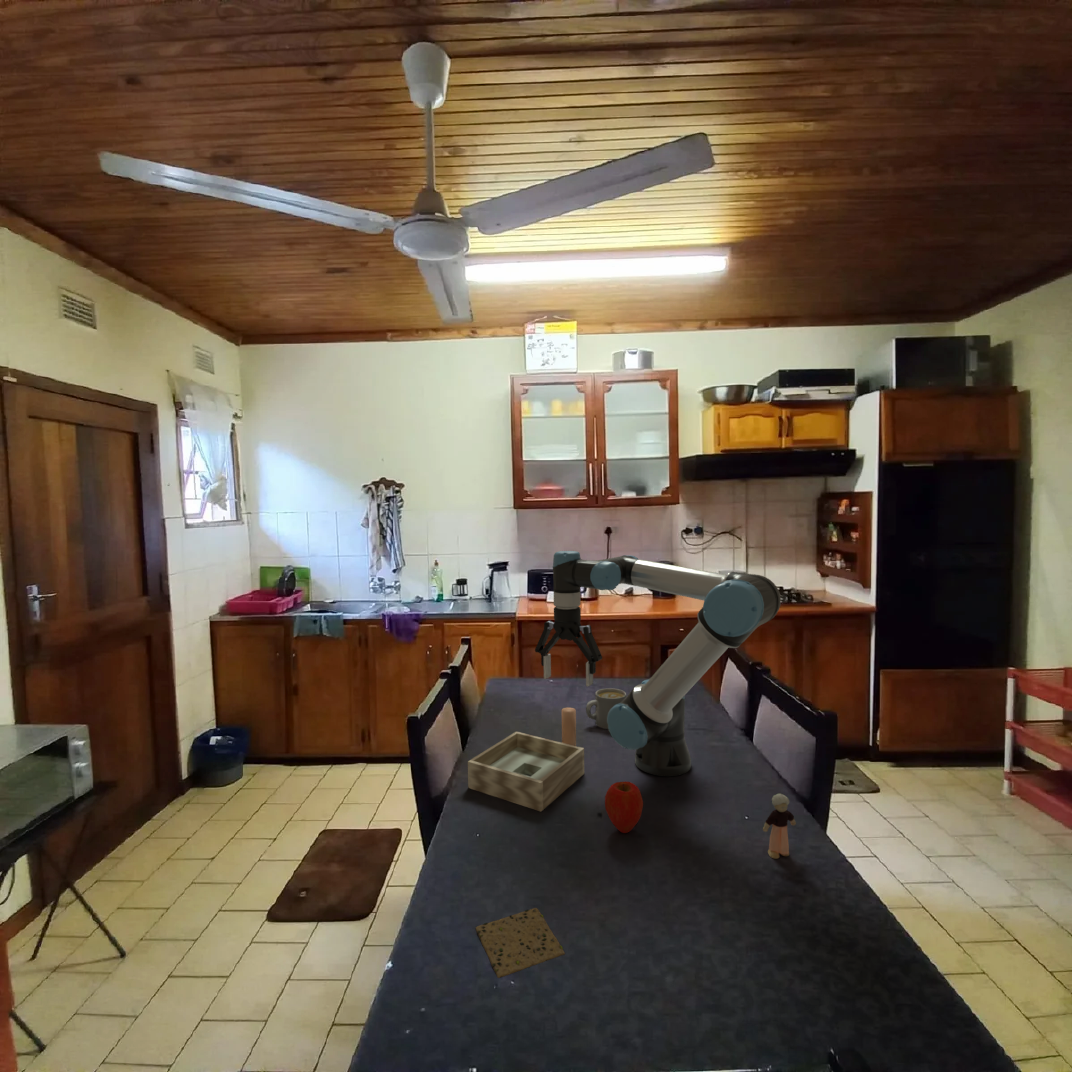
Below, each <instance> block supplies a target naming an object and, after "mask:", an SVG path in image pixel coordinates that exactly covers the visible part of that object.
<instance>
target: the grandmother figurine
mask: <svg viewBox="0 0 1072 1072" xmlns="http://www.w3.org/2000/svg"><path fill="white" fill-rule="evenodd" d="M771 801H772V802H771V804H772V805H773V807H774V810H772V812H771V813H770V814H769V815H768V817H767V819H766V820H765V822H764V826H763V827H762V831H763V832H764V833H767V832H768V831H769V828H770V827H771V826H772V827H771V832H770V835H769V845H768V850H767V853H768V855H769V857H770V858H771V859H774V860H775V859H779V858H780V855H781V856H783V857H788V856H790V849H789V848H790V847H789V835H788V833H789V832H788V821H789V822H790V825H791V826H796V825H797V822H796V820H795V816H794V815H793V813H792V812H791V811H789V810H787V809H788V805H789V804H790V799H789V797H787V796H786V795H784V794H782V793H777V794H774V795H773V796H772V798H771Z"/></svg>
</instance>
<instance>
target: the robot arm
mask: <svg viewBox="0 0 1072 1072" xmlns="http://www.w3.org/2000/svg"><path fill="white" fill-rule="evenodd" d="M552 562H553V563H552V576H553V606H554V607H553V619H554V621H552V620H548V621H545V622H544V623H543V630H542V632H541V635H540V637H539V640H538V642H537V644H536V647H535V649H534V651H535V653H538V654H539V655H540V659H541V660H540V661H541V662H540V664H541V666H542V667H543V679H544V680H545V679H548V678H551V676H552V669H551V668H552V664H551V663H552V661H551V660H552V658H551V657H552V655H551V653H549V652H550V651H551V650H552V648H553V647H554V646H555V645H556V644H557V643H558V641H559V639H561V640H567V641H573V643H575V644H576V646H577V647H578V648H579V650H580V651H581V653H582V654H583V656H584V657H585V658H586V660H587V662H585V686H586V687H590V686H592V685H593V684H594V674H596V673H597V671H596V670H597V669H596V667H597V665H596V663H597V662H599V661H601V660H602V659H603V655H602V652H601V650H600V649H599V645H597V642H596V639H595V637H594V635H593V631H592V626H591V624H587V625H581V619H582V616H581V615H582V614H581V611H582V609H581V608H582V607H580V605H581V588H587V589H591V590H592V589H594V590H600V591H613V590H615V589H617V587H618V586H619V585H622V584H624V585H628V586H629V585H630V586H633V587H637V588H643V589H644V588H645V589H647V590H651V591H652V590H653V591H657V592H662V593H666V594H672V595H677V596H681V597H686V598H691V599H695V600H700V601H703V603H702V604H703V605H702V607H701V609H700V610H699V611H698V612H697V620H698V621H697V624H695V626H694V627H693V628H692V629H691V631H690V632H689V633H688V634H687V635H686V637H684V638H683V640H682V641H681V643H679V644H678V646H677V647H676V648H675V649H674V650H673V652H671V654H670V655H669V656H668V658H666V660H665V661H664V662H663V663H662V664H661V666H660V667H659V668H658V669H657V670H656V671H655V673H654V674H653V675H651V677H650V678H649V679H645V680H643V681H642V682H641V683H638V684H636V685H635V686H634V687H633V689H632V690H631V691H630V692H629V693H628V694H627V695H626V698H625V699H624V700H623V701H622V702H621V703H619V704H616V705H614V706H613V707H612V708H611V709H610V711H609V713H608V716H607V723H608V729H607V730H608V732H609V733H610V735H611V738H612V739H613V740H614V741H615V743H617V744H618V745H619V746H620V747H622V748H624V749H625V750H626V749H627V750H629V751H635V754H634V763H635V766H636V767H637V768H638V769H640V771H643V772H645V773H647V774H649V775H650V774H651V775H654V776H659V777H677V776H681V775H684V774H686V773H688V772H689V771H690V770H691V768H692V757H691V754H690V751H689V747H688V745H687V742H686V738H685V711H686V710H685V709H686V708H685V707H686V706H685V703H686V702H685V701H686V694H688V692H689V691H691V689H692V688H693V686H695V684H697V682H699V680H700V679H701V678H702V677H703V676H704V675H705V674H706V673H707V672H708V670H709V669H711V667H712V666H713V665H714V664H715V663H716V662H717V661H718V659H720V657H721V656H722V655H723V654H724V653H725V652H726V651H727V650H728V648H729V649H737V648H739V647H740V646H741V645H742V644H743V643H745V641H746V640H747V639H748V638H749V637H750V636H751V635H752V633H753V632H755V630H757V628H758V627H760V626H761V625H764V624H766V623H767V622H770V621H771V620H772V619H774V618H775V616H776V615H777V614H778V612H779V610H780V608H781V602H782V599H781V597H782V596H781V594H780V593H781V592H780V591H779V588H778V586H777V585H776V584H775V583H774V582H773V581H772V580H771V579H769V578H768V577H766V576H764V575H760V574H754V573H744V572H737V571H729V572H728V573H727V574H724V573H719V572H714V571H713V572H712V571H708V570H701V569H697V568H691V567H686V566H685V567H684V566H678V565H673V564H668V563H663V562H657V561H650V560H645V559H639V558H638V557H636V556H635V555H627V554H624V555H620V556H615V557H610V558H603V559H599V560H595V559H592V560H590V559H589V560H588V559H581V553H580V552H579V551H577V550H560V551H556V552H554V554H553V560H552ZM552 629H554V631H555V633H554V634H553V635H552V637H551V638H550V640H549V641H548V642H547V640H548V639H549V636H550V634H551V632H552ZM582 634H583V635H582ZM583 636H584V637H583ZM584 639H585V640H584Z"/></svg>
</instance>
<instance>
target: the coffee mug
mask: <svg viewBox="0 0 1072 1072" xmlns="http://www.w3.org/2000/svg"><path fill="white" fill-rule="evenodd" d="M594 694H595V697H594V698H595V699H592V700H589V701H588V702H587V704H586V707H585V712H586V715H587V717H588V718H589V719H591V720H595V725H596V726H597V727H599V728H602V729H605V730H609V729H608V723H607V716H608V713H609V711H610V709H611V708H612V707H613V706H614V705H616V704H619V703H621V702H622V701H623V700H624V699H625V698H626V697H627V693H626V692H625V691H624V690H622V689H619V688H612V687H609V688H601V689H598V690H596V691H595V693H594ZM593 706H595V712H594V713H591V709H592V708H593Z"/></svg>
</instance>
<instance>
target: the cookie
mask: <svg viewBox="0 0 1072 1072" xmlns="http://www.w3.org/2000/svg"><path fill="white" fill-rule="evenodd" d="M475 933H476V934H477V936H478V938H479V941H480V942H481V945H482V947H483V949H484V951H485V953H486V955H487V958H488V960H489V962H490V966H491V967H492V969H493V972H494V973H495V974H496V977H497V979H500V978H503V977H506V976H509V975H512V974H514V973H517V972H520V971H523V970H525V969H527V968H530V967H533V966H536V965H539V964H543V963H545V962H547V961H551V960H553V959H556V958H558V957H562V956H565V955H566V953H565V951H564V947H563V946H562V945H561V944H560V942H559V941H558V938H557V937H556V936H555V935H554V933H553V931H552V929H551V928H550V926H549V925H548V923H547V920H546V919H545V916H544V914H542V913H541V912H540V910H539V909H538V907H533V908H530V909H526V910H524V911H521V912H520V911H519V912H518V913H515V914H511V915H509V916H506V917H502V918H501V919H497V920H493V921H490V922H485V923H483V924H480V925H478V926H475Z"/></svg>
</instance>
